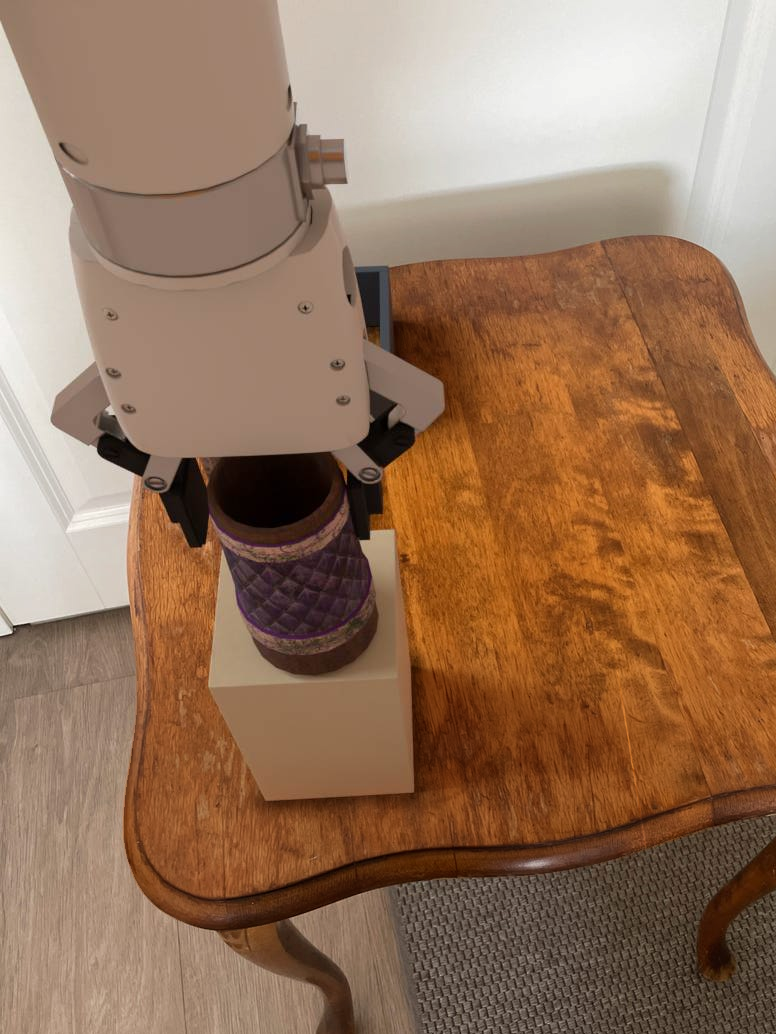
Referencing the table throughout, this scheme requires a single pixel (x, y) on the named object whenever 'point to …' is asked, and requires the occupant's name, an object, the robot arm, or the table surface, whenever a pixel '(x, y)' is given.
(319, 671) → the mug
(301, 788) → the block
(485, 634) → the table surface
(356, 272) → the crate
